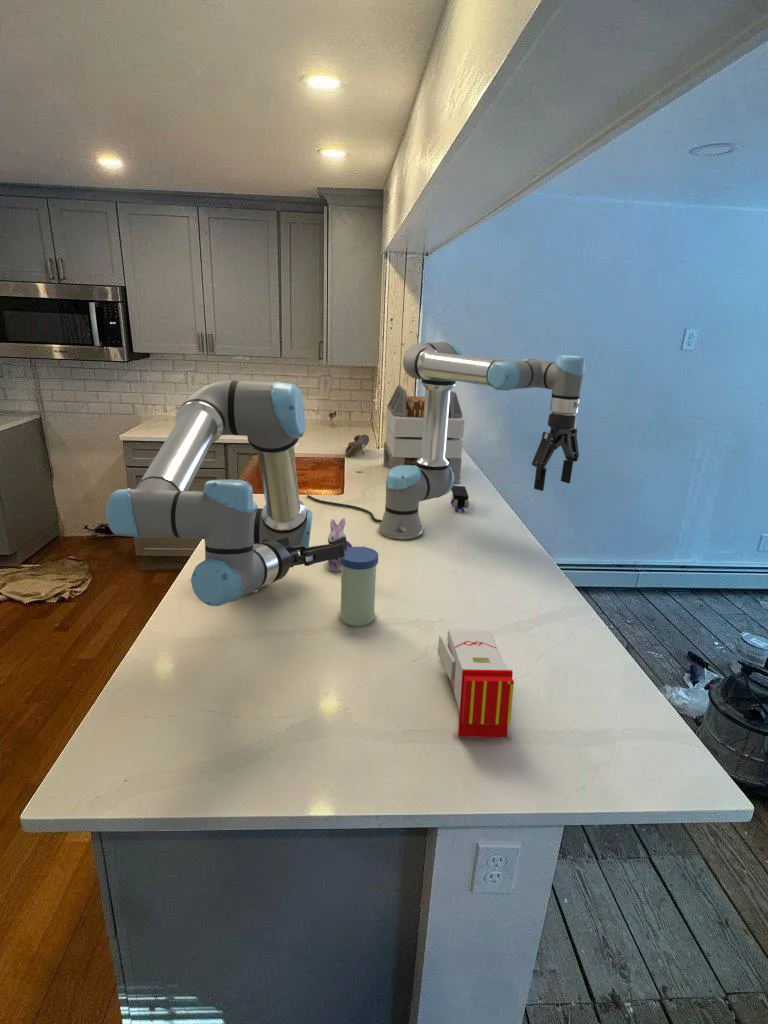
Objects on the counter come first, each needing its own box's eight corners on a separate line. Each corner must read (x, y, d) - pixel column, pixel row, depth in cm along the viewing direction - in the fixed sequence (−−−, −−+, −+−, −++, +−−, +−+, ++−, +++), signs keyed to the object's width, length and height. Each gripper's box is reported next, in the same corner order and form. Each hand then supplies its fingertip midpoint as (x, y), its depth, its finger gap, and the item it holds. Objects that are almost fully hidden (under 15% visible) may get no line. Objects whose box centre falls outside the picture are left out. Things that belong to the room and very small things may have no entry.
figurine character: (469, 517, 223) (463, 501, 236) (471, 500, 219) (465, 484, 233) (452, 516, 222) (447, 500, 236) (454, 499, 219) (449, 483, 232)
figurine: (332, 575, 167) (332, 527, 162) (319, 561, 175) (319, 516, 170) (361, 569, 171) (362, 523, 166) (347, 556, 179) (348, 512, 174)
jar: (349, 629, 140) (351, 565, 134) (335, 613, 147) (336, 552, 141) (380, 621, 144) (382, 559, 138) (364, 606, 151) (366, 546, 145)
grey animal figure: (345, 440, 315) (366, 425, 310) (356, 453, 318) (377, 439, 313) (338, 454, 296) (361, 438, 291) (350, 468, 298) (372, 452, 293)
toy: (488, 613, 130) (523, 677, 101) (484, 667, 133) (517, 744, 104) (435, 612, 130) (455, 676, 101) (432, 666, 133) (451, 743, 103)
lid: (350, 572, 134) (350, 564, 133) (333, 557, 141) (333, 550, 141) (384, 565, 138) (385, 558, 138) (366, 551, 146) (367, 544, 145)
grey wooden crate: (382, 463, 289) (386, 382, 275) (445, 464, 293) (451, 384, 279) (390, 482, 257) (394, 392, 243) (460, 483, 261) (468, 394, 247)
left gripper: (205, 583, 106) (266, 559, 125) (326, 587, 97) (371, 561, 117) (202, 543, 105) (263, 526, 125) (323, 543, 96) (368, 525, 116)
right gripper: (548, 419, 148) (537, 496, 155) (598, 411, 163) (586, 482, 171) (525, 414, 153) (515, 489, 160) (575, 407, 169) (564, 476, 176)
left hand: (315, 543), depth 121 cm, fingers open, 13 cm apart
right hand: (552, 485), depth 166 cm, fingers open, 13 cm apart
